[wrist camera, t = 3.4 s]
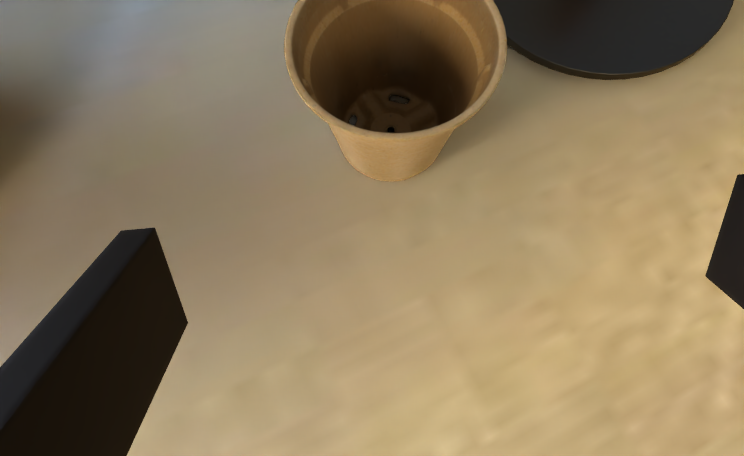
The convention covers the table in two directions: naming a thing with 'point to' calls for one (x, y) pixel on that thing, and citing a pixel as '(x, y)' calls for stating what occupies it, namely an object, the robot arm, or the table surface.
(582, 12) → the lid
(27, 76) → the table surface
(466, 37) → the flower pot
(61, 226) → the table surface
